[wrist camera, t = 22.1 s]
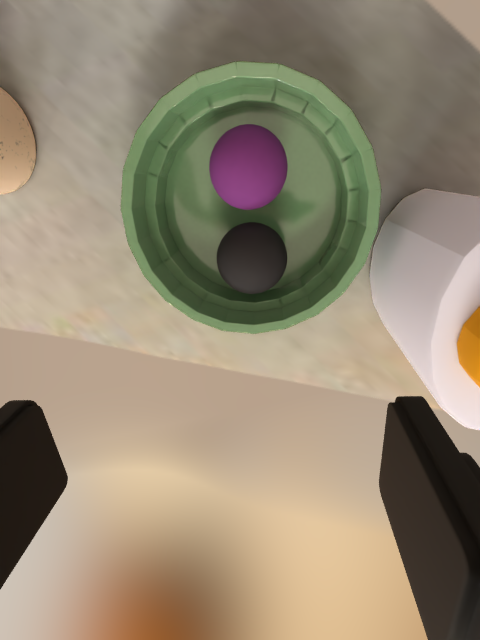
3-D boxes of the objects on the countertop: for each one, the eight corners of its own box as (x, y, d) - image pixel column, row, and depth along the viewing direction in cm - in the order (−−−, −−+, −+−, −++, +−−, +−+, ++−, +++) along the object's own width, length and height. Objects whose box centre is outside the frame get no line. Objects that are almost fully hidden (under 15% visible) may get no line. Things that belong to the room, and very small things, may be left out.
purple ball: (217, 206, 29) (210, 219, 24) (209, 129, 26) (199, 125, 21) (285, 201, 28) (292, 212, 23) (283, 122, 26) (291, 117, 21)
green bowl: (167, 309, 34) (147, 337, 28) (130, 95, 26) (92, 77, 21) (353, 302, 32) (369, 330, 26) (366, 69, 24) (393, 41, 19)
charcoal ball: (224, 283, 31) (215, 306, 26) (218, 219, 29) (207, 231, 24) (286, 279, 31) (289, 302, 26) (285, 214, 28) (287, 226, 23)
